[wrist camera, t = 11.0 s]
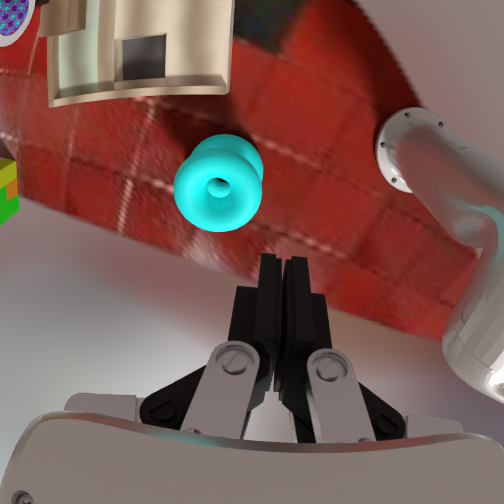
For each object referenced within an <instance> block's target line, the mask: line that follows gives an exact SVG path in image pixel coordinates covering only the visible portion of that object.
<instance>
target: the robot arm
mask: <svg viewBox="0 0 504 504" xmlns="http://www.w3.org/2000/svg"><path fill="white" fill-rule="evenodd" d="M405 113H406V116H405ZM438 123H439V124H438ZM381 142H383V144H382V145H380V144H381ZM375 156H376V162H377V165H378V168H379V170H380V172H381V173H382V175H383V176H384V178H385V179H386V180H387V181H388V182H389V183H390V184H391V185H392V186H394V187H395V188H397V189H399V190H401V191H404V192H409V193H414V194H415V195H416V197H417V198H418V199H419V200H420V201H421V202H422V203H423V204H424V205H425V207H426V208H427V209H428V210H429V211H430V212H431V213H432V215H433V216H434V217H435V218H436V219H437V221H438V222H439V223H440V224H441V225H442V226H443V227H444V229H445V230H446V231H447V232H448V233H449V235H450V236H451V237H453V238H454V239H455V240H456V241H458V242H459V243H461V244H463V245H466V246H469V247H475V248H483V251H482V254H481V256H480V258H479V261H478V263H477V265H476V267H475V270H474V272H473V274H472V276H471V278H470V280H469V282H468V284H467V286H466V288H465V289H464V291H463V293H462V295H461V297H460V299H459V300H458V302H457V304H456V306H455V308H454V310H453V311H452V313H451V315H450V317H449V319H448V321H447V323H446V325H445V328H444V331H443V337H442V347H443V352H444V355H445V357H446V360H447V362H448V364H449V365H450V367H451V368H452V369H453V371H454V372H455V373H456V374H457V375H458V376H459V377H460V378H461V379H462V380H463V381H464V382H466V383H467V384H469V385H470V386H471V387H473V388H474V389H476V390H478V391H480V392H482V393H483V394H485V395H487V396H489V397H491V398H493V399H495V400H497V401H499V402H501V403H503V404H504V162H502V161H501V160H499V159H498V158H496V157H494V156H493V155H491V154H489V153H487V152H486V151H484V150H482V149H481V148H479V147H477V146H475V145H474V144H472V143H470V142H468V141H466V140H465V139H463V138H461V137H459V136H457V135H455V134H453V133H451V132H450V129H449V127H448V126H447V124H446V123H445V121H444V120H443V119H442V118H441V117H440V116H438V115H437V114H435V113H434V112H432V111H430V110H428V109H424V108H421V107H409V108H404V109H401V110H399V111H397V112H395V113H394V114H392V115H391V116H390V117H389V118H388V119H387V120H386V121H385V122H384V124H383V125H382V127H381V129H380V131H379V133H378V136H377V140H376V144H375ZM392 178H393V179H392ZM273 373H274V388H273V389H274V392H279V400H280V401H282V404H283V405H284V406H285V407H286V408H287V409H289V418H290V425H291V431H292V438H293V443H280V442H264V441H252V440H244V436H245V432H246V429H247V426H248V422H249V418H250V415H251V410H252V409H254V408H255V407H257V406H258V405H260V404H261V403H262V402H263V400H264V396H265V391H269V389H270V385H271V381H272V376H273ZM0 504H504V449H503V448H502V446H501V445H500V444H499V443H498V442H497V441H495V440H493V439H491V438H488V437H486V436H483V435H479V434H473V433H464V430H463V428H462V426H461V425H460V424H459V423H458V422H456V421H454V420H451V419H441V418H432V417H424V416H415V415H409V414H408V415H407V416H406V417H403V416H401V414H400V413H399V412H398V411H396V410H395V409H394V408H392V407H391V406H390V405H388V404H387V403H386V402H384V401H383V400H381V399H380V398H379V397H378V396H376V395H375V394H373V392H371V391H370V390H369V389H367V388H366V387H365V386H363V385H362V384H361V383H360V382H358V381H357V378H356V375H355V372H354V369H353V366H352V363H351V361H350V360H349V358H348V357H347V356H346V355H345V354H343V353H341V352H340V351H338V350H334V349H332V343H331V335H330V328H329V320H328V313H327V306H326V299H325V295H324V294H317V293H311V288H310V278H309V270H308V261H307V257H297V256H292V258H291V260H288V259H286V261H285V267H284V273H283V279H282V259H279V258H276V254H269V253H262V254H261V263H260V272H259V280H258V288H255V287H245V286H237V289H236V296H235V301H234V307H233V313H232V318H231V324H230V330H229V336H228V341H227V342H224V343H222V344H220V345H219V346H217V347H216V348H215V349H214V350H213V352H212V353H211V356H210V358H209V361H208V363H207V365H205V366H203V367H201V368H199V369H198V370H196V371H194V372H192V373H191V374H189V375H187V376H185V377H183V378H181V379H179V380H177V381H175V382H174V383H172V384H170V385H168V386H166V387H164V388H162V389H160V390H158V391H156V392H154V393H152V394H151V395H149V396H148V397H146V398H137V397H136V395H111V394H92V393H79V394H75V395H73V396H71V397H70V398H69V399H68V401H67V402H66V405H65V408H64V411H57V412H51V413H46V414H43V415H40V416H38V417H37V418H35V419H34V420H33V421H32V422H31V423H30V424H29V425H28V426H27V428H26V429H25V430H24V432H23V434H22V435H21V437H20V439H19V441H18V443H17V445H16V447H15V449H14V451H13V453H12V456H11V458H10V460H9V463H8V466H7V468H6V471H5V474H4V476H3V479H2V483H1V486H0Z"/></svg>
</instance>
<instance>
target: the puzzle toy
mask: <svg viewBox="0 0 504 504" xmlns="http://www.w3.org/2000/svg"><path fill="white" fill-rule="evenodd" d="M18 210H19V199H18V189H17V172H16V161H15V160H10V159H5V158H1V157H0V226H1V225H2V224H3V223H4V222H5V221H6V220H7V219H9V218H10V217H11V216H12V215H13V214H14V213H16V212H17V211H18Z"/></svg>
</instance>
